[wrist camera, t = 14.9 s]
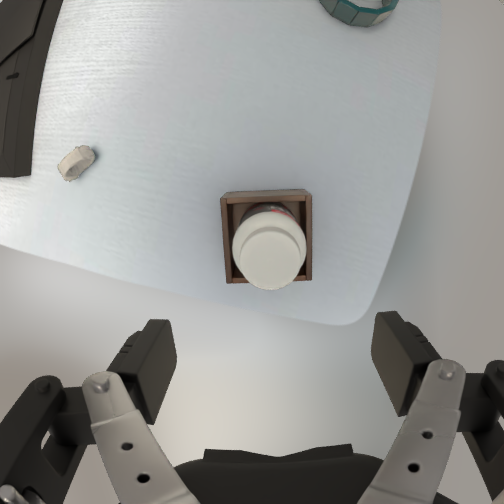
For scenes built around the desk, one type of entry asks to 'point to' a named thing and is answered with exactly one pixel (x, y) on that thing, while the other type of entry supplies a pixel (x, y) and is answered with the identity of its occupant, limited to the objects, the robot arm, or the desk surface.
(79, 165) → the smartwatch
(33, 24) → the dark grey flat block
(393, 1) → the teal ring
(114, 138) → the desk surface
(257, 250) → the pill bottle
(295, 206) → the holder
